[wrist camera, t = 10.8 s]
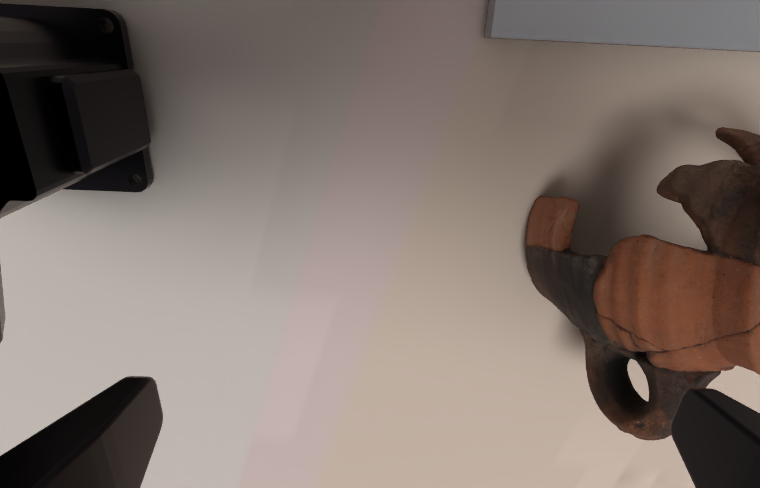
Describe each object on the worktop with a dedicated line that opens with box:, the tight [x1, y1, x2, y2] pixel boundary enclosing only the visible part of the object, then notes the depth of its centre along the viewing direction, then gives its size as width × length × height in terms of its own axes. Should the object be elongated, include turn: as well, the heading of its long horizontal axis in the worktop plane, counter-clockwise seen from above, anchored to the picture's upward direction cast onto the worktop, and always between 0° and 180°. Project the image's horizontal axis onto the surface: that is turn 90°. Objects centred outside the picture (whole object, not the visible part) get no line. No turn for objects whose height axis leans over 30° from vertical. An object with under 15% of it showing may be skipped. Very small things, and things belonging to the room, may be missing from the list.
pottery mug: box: [526, 127, 760, 440], centre depth 18 cm, size 12×10×8 cm
